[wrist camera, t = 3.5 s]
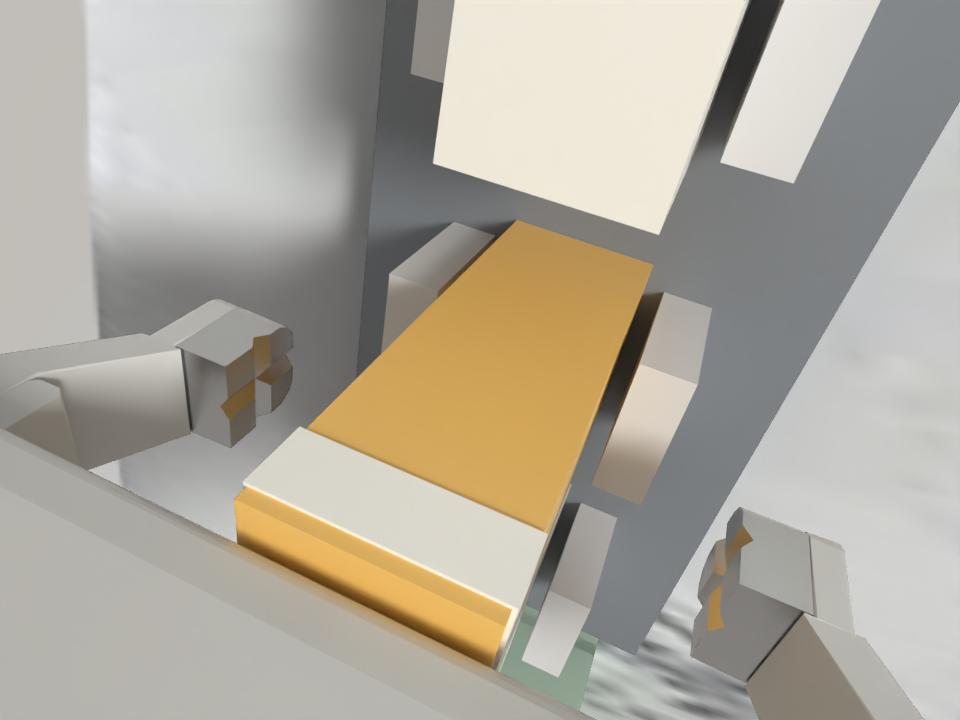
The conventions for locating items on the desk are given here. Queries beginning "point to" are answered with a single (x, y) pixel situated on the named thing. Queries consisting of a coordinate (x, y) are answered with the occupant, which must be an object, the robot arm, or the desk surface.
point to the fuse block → (654, 227)
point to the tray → (560, 688)
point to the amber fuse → (454, 444)
